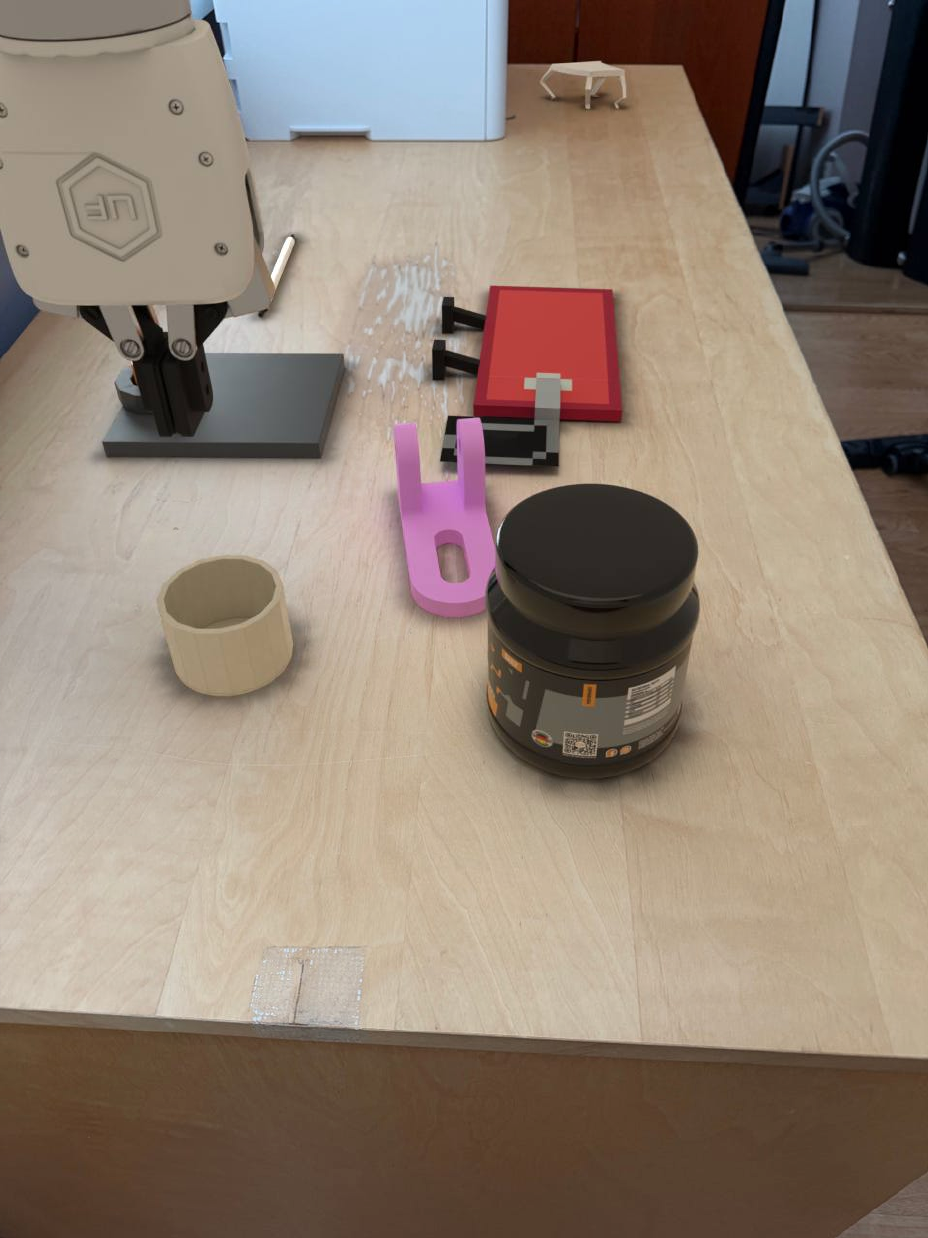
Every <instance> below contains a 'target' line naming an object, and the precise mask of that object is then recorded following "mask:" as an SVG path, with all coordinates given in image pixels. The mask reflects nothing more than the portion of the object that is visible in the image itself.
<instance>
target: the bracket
mask: <svg viewBox="0 0 928 1238" xmlns="http://www.w3.org/2000/svg"><path fill="white" fill-rule="evenodd" d="M393 442H394V443H393V444H394V458H395V469H396V470H395V471H396V485H397V497H398V505H399V512H400V513H399V515H400V520H401V528H402V536H403V541H404V550H405V557H406V564H407V570H408V571H407V572H408V578H409V585H410V593H411V596H412V599H413V600H414V602H415V603H416V604H417V605H418V606H419V607H420V608H421V609H422V610H424V611H426V612H428V613H430V614H433V615H436V616H439V617H445V618H466V617H470V616H475V615H477V614H480V613H482V612H484V611H486V610H485V590H486V585H487V581H488V579H489V576H490V574H491V572H492V570H493V569H494V567H495V541H494V538H493V535H492V534H493V533H492V530H491V526H490V522H489V518H488V514H487V507H486V463H485V446H484V436H483V429H482V424H481V420H480V418H468V419H458V420H457V462H456V463H457V479H456V480H447V481H445V480H444V481H435V482H434V481H431V482H423V483H422V474H421V458H420V446H419V439H418V429H417V423H416V422H407V423H396V424H395V423H394V424H393ZM446 544H454V545H457V546H459V547H460V548H461V549H462V551H463V557H464V560H465V566H466V571H467V575H468V578H467V579H465V580H464V581H461V582H449V581H446V580H444V578H442V575H441V570H440V564H439V559H438V553H437V548H439V547H440V546H442V545H446Z"/></svg>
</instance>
